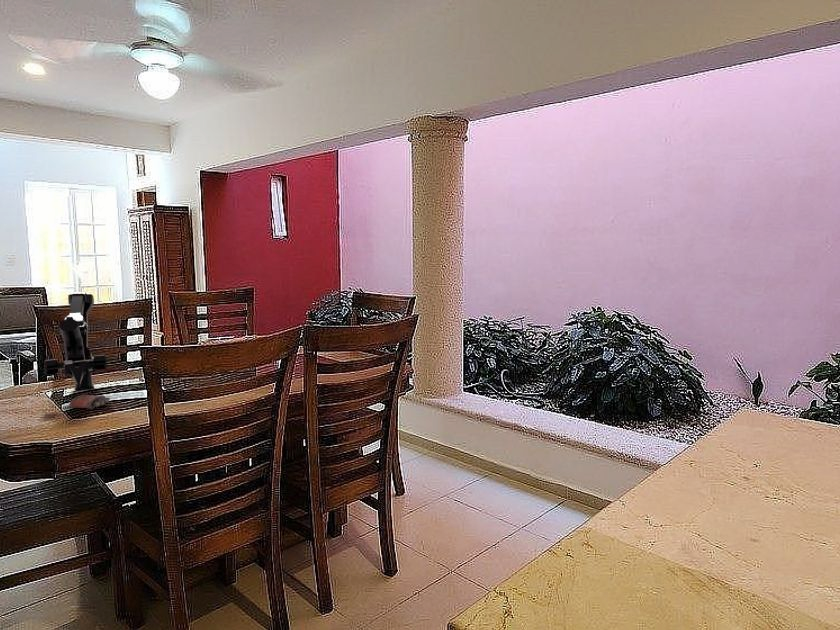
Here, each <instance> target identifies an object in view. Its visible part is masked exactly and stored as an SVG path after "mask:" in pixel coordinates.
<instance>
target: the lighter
mask: <svg viewBox="0 0 840 630" xmlns="http://www.w3.org/2000/svg"><path fill="white" fill-rule="evenodd" d="M110 401H111V399H110V397H106V396H105V395H103V394H101V395H88V394H81V395H78V396H76V397H74V398H73V399H71V400H70V401H69V403H68V404H69V407H70V408H72V409H75V408H79V409H82V408H83V409H91V410H92V409H96V408H98V407H101V406H103V405H105V404H106V403H108V402H110ZM95 407H96V408H95Z"/></svg>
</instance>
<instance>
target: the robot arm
mask: <svg viewBox="0 0 840 630" xmlns="http://www.w3.org/2000/svg"><path fill="white" fill-rule="evenodd" d="M67 296H68V297H67V298H68V299H67V301H68V304H67V305H68V306H70V307H69V314H68V315H66V317H64V319H63V320H62V321H61V322H60V323H59V326H58V327H59V332H60V333H61V337H62V339H63V343H64V344H63V345H64V353H65V360H63V362H59V359H57V358H56V359H45V360H44V375H45V376H56V375H57V374H58V373H59V370H61V374H62V375H64V376H68V378H70V379H72V380H73V381H74V384H75V385H73V389H74V390H75V391H80V390H81V391H82V390H87V389H89V390H90V389H95V385H94V383H93V376H92V373H96V372H98V371H102V370H106V369H107V363H108V357H107V356H106V355H105V354H99V355H97V354H96V355H93V354H92V352H91V350H90V349H89V331H88V330H89V321H88V320H89V315H90V313H91V312H92V311H93V305H94V304H95V298H94V297H95V296H94V295H93V294H91V293H90V292H87V293H86V292H84V291H79V292H76V291H75V292H72V293H70V294H68V295H67Z"/></svg>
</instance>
